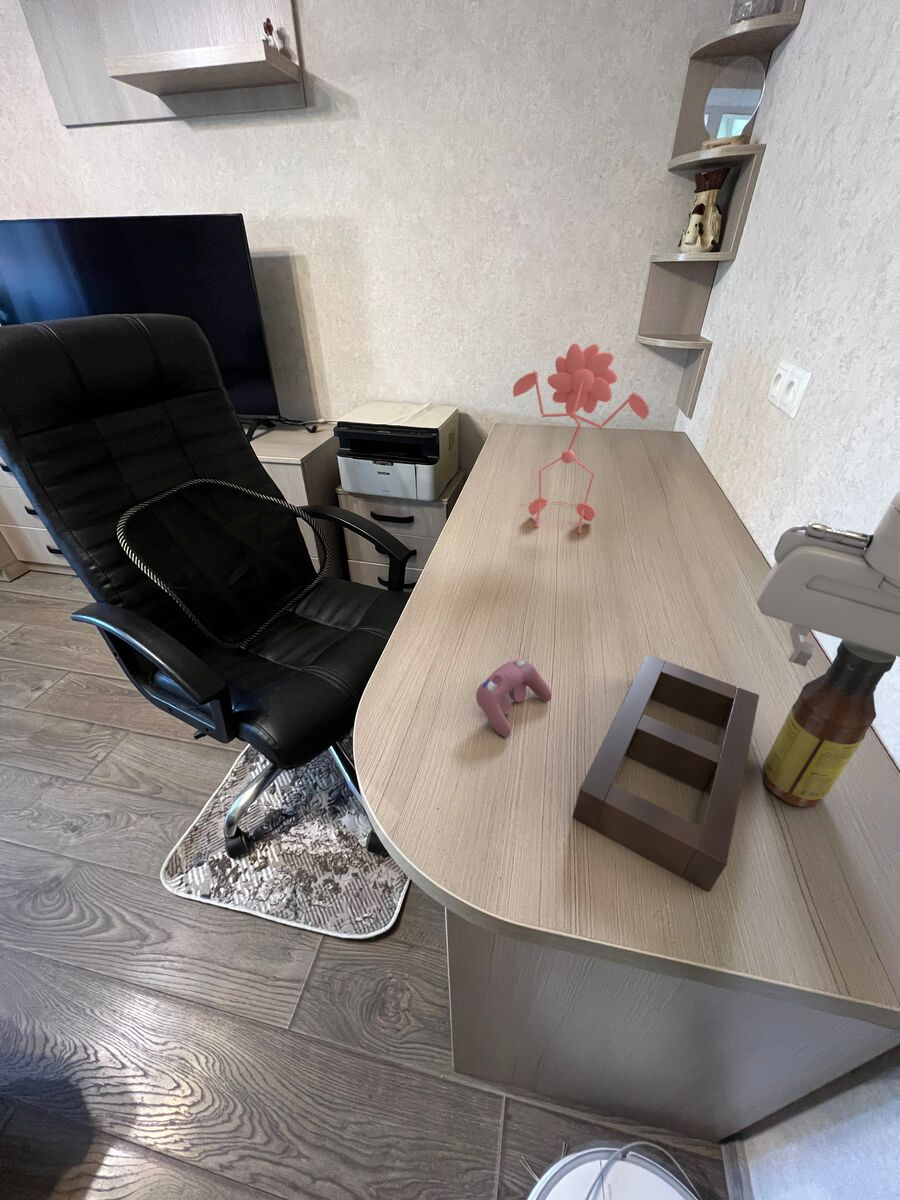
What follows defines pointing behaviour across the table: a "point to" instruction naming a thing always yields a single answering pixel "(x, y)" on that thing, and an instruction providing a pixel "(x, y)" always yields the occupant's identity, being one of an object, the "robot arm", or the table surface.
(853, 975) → the table surface
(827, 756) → the sauce bottle
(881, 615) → the robot arm
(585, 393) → the flower sculpture
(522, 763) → the table surface
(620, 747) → the hole block
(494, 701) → the video game controller
